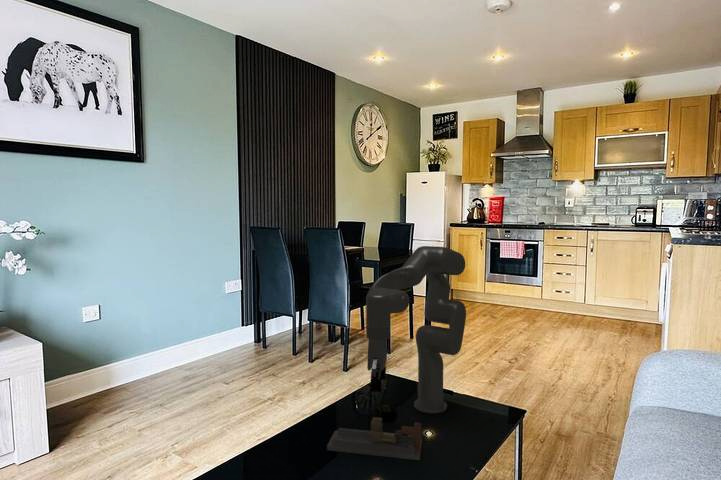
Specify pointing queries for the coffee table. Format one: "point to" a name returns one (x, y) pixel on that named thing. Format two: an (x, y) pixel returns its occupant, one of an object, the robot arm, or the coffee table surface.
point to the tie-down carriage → (384, 437)
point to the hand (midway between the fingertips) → (378, 385)
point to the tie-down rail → (362, 443)
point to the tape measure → (386, 412)
